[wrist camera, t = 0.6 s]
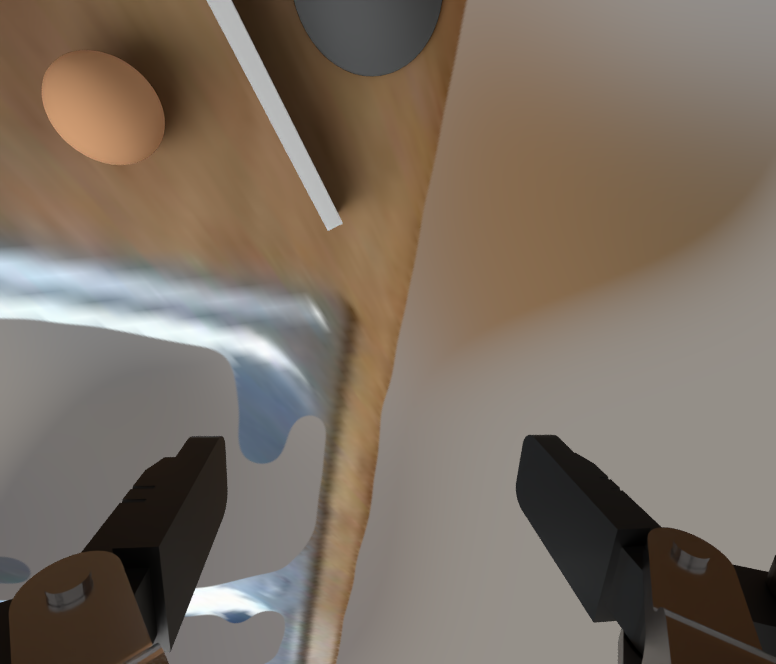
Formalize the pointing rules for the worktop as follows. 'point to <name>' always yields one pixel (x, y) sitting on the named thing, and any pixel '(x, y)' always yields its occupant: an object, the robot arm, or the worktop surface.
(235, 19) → the low wall
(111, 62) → the ball
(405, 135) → the worktop surface
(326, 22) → the pad
